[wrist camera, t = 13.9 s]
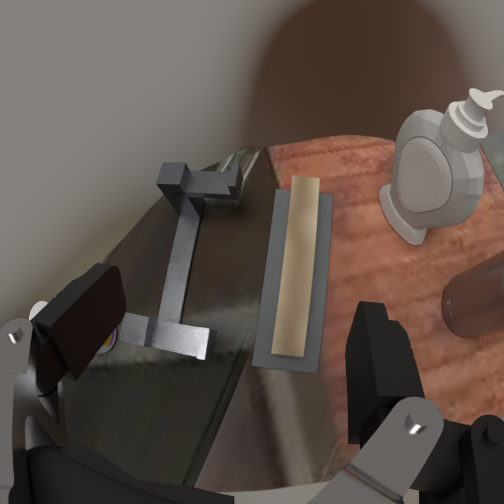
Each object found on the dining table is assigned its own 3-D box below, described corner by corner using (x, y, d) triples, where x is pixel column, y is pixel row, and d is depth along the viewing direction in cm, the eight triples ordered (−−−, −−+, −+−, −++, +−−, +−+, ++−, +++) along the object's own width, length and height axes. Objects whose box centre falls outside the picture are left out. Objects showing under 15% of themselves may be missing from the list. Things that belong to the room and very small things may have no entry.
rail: (316, 193, 41) (319, 178, 38) (301, 356, 35) (303, 357, 31) (292, 190, 42) (292, 175, 38) (272, 352, 35) (271, 353, 32)
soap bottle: (447, 238, 38) (548, 144, 15) (411, 262, 38) (519, 168, 14) (400, 169, 42) (459, 47, 19) (363, 187, 42) (413, 52, 19)
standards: (249, 204, 43) (239, 163, 33) (225, 357, 36) (204, 359, 27) (186, 199, 44) (162, 161, 34) (156, 343, 38) (118, 339, 28)
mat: (331, 196, 42) (332, 194, 41) (316, 372, 35) (316, 373, 34) (276, 190, 43) (276, 188, 42) (252, 365, 36) (251, 365, 35)
